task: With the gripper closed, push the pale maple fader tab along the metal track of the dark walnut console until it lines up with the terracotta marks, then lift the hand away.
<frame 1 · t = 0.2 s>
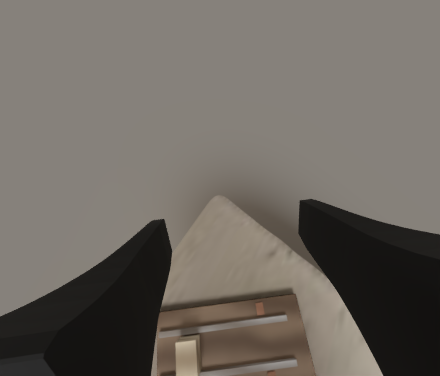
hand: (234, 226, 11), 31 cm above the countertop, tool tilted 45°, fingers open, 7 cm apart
console: (231, 343, 34), on the countertop
fader tab: (188, 355, 31), point 3 cm above the countertop, slide at 0.5 cm
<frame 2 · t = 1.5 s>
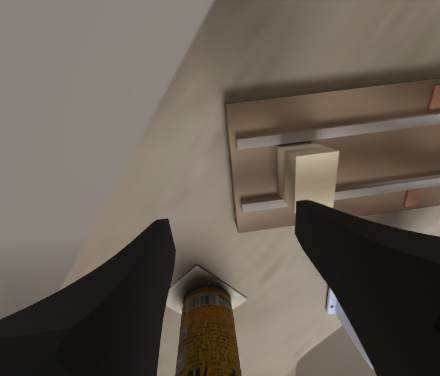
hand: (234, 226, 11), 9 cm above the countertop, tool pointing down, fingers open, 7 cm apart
console: (352, 155, 20), on the countertop
condiment: (202, 296, 26), on the countertop
fader tab: (303, 175, 16), point 3 cm above the countertop, slide at 0.5 cm
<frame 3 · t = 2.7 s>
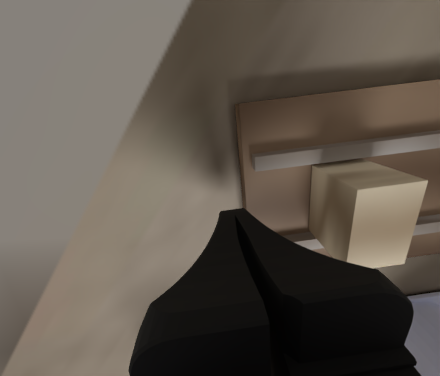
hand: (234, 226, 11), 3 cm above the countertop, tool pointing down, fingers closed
console: (410, 175, 14), on the countertop
fader tab: (354, 210, 11), point 3 cm above the countertop, slide at 0.5 cm
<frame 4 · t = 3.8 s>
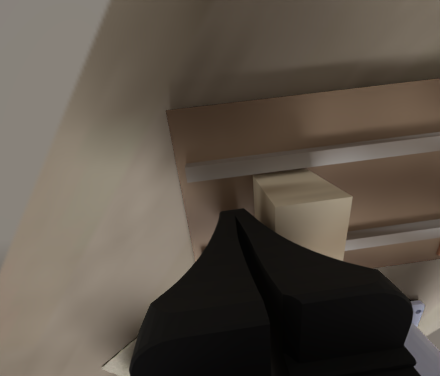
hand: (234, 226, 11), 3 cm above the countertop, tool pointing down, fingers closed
console: (366, 183, 14), on the countertop
condiment: (164, 360, 20), on the countertop
fader tab: (292, 224, 10), point 4 cm above the countertop, slide at 0.5 cm, touching gripper
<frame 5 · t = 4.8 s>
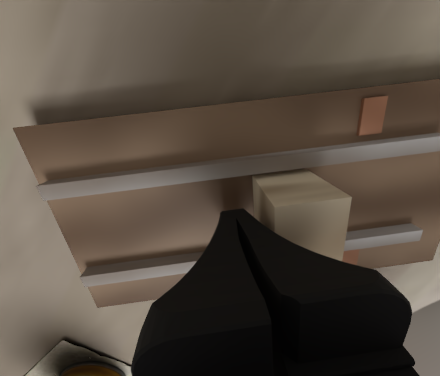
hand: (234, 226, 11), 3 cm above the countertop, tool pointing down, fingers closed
console: (261, 197, 14), on the countertop
condiment: (88, 372, 19), on the countertop
fader tab: (291, 224, 10), point 4 cm above the countertop, slide at 7.7 cm, touching gripper
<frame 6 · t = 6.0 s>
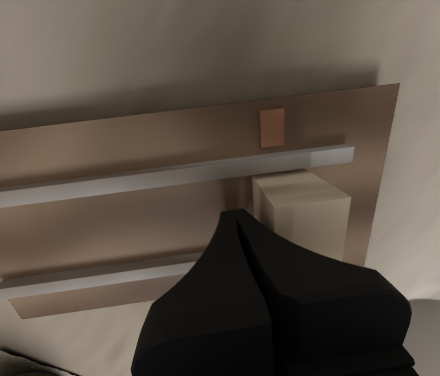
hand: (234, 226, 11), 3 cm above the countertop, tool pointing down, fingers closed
console: (183, 208, 13), on the countertop
fader tab: (291, 224, 10), point 4 cm above the countertop, slide at 12.9 cm, touching gripper
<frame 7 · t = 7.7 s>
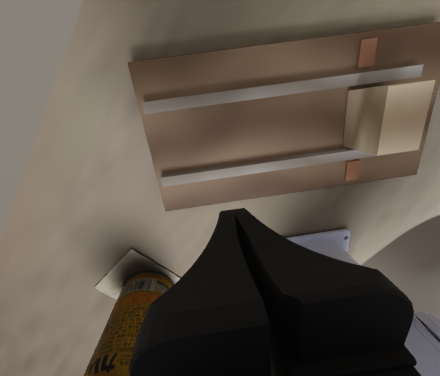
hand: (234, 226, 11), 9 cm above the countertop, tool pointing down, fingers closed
console: (286, 125, 18), on the countertop
condiment: (145, 284, 24), on the countertop
fader tab: (381, 118, 15), point 4 cm above the countertop, slide at 12.9 cm
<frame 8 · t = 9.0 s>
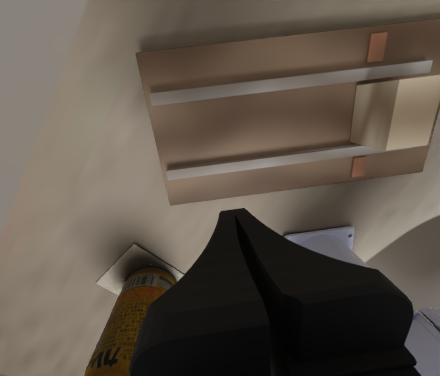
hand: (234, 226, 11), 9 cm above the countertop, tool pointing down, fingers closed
console: (293, 120, 18), on the countertop
condiment: (147, 279, 24), on the countertop
fader tab: (389, 113, 15), point 3 cm above the countertop, slide at 12.9 cm
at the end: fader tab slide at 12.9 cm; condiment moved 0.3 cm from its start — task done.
